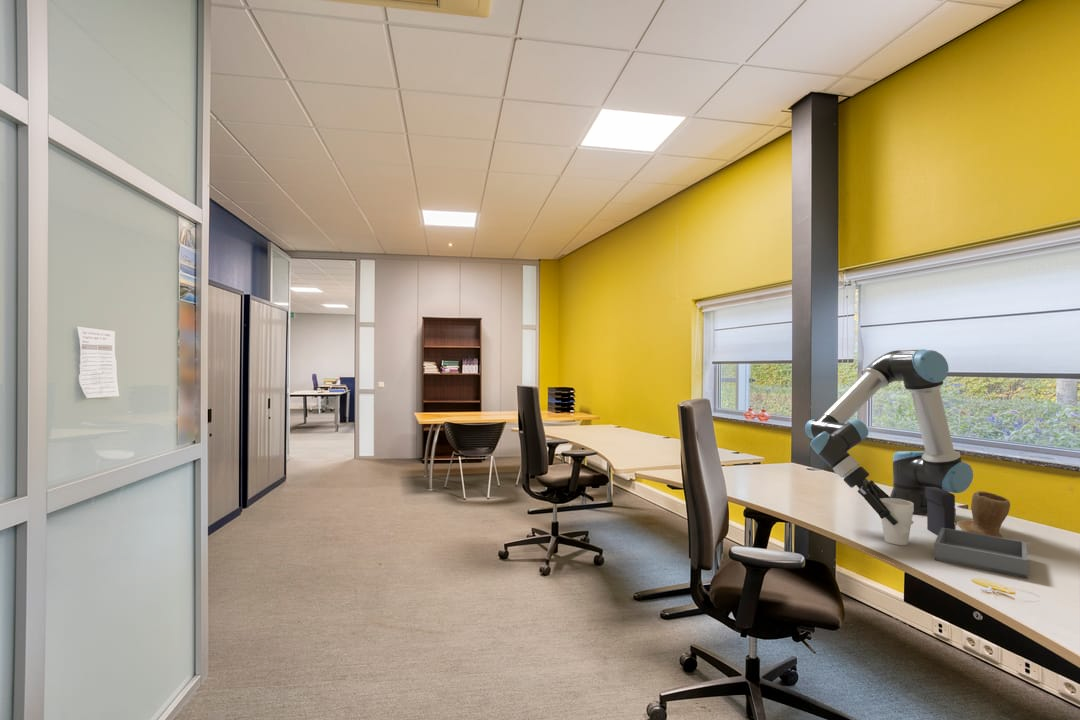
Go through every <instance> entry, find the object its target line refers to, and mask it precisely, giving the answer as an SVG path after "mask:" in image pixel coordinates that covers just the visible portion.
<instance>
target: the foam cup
mask: <svg viewBox="0 0 1080 720" xmlns="http://www.w3.org/2000/svg"><path fill="white" fill-rule="evenodd" d="M880 500H881V501H882V502H883V504H884V505H885V506H886V508H887V509H888V510H889V511H890V513H891V512H892V513H893V514H894V515H895V516H896V517H897V518H898V519H899V520H900V521H901V522H902V523H903V524H904V525H905V526H906V527H907V528H908V529H909V531H907V532H906V533H904V534H903V535H901V534H900V533H899V532H898V531H897V530H896V529H895V528H894V527H893V526H892V525H891V524H890V523H889V522H888V521H887V520H886V519H885V518H883V519H881V518H880V520H881V526H882V531H883V538H884V541H885V542H886V543H889V544H892V545H897V546H906V545H909V540H910V533H911V525H912V524H911V521H913V520H912V519H913V514H914V513H913V512H914V503H912V502H910V501H907V500H902V499H896V498H880Z"/></svg>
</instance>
